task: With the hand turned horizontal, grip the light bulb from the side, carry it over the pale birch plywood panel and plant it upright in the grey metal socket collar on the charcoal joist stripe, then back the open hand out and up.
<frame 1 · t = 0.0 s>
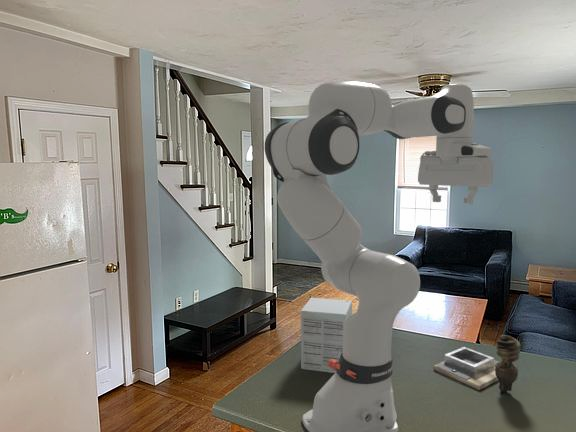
hand: (451, 203, 114), 48 cm above the table, tool pointing down, fingers open, 8 cm apart
supplement box: (327, 362, 129), on the table
light bulb: (505, 393, 111), on the table
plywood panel: (473, 370, 123), on the table
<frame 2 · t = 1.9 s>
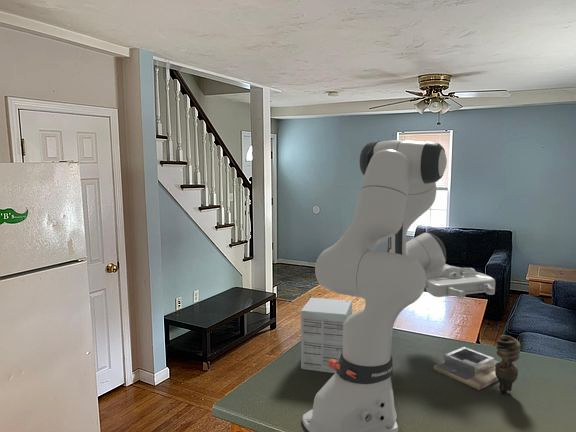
hand: (478, 293, 120), 23 cm above the table, tool horizontal, fingers open, 8 cm apart
nothing on the table moved.
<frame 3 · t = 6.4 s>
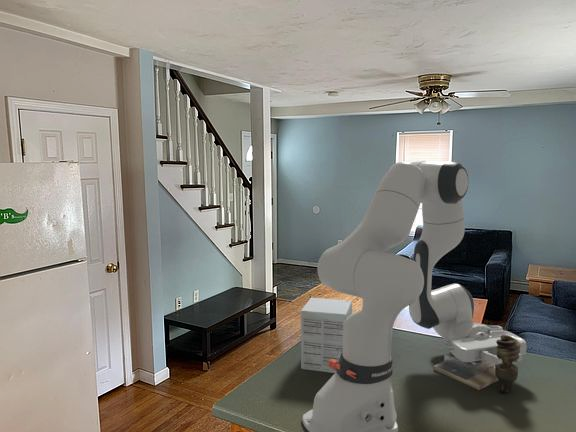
hand: (510, 360, 109), 9 cm above the table, tool horizontal, fingers closed on light bulb, 4 cm apart
light bulb: (505, 393, 111), on the table, touching gripper
everything else where it was.
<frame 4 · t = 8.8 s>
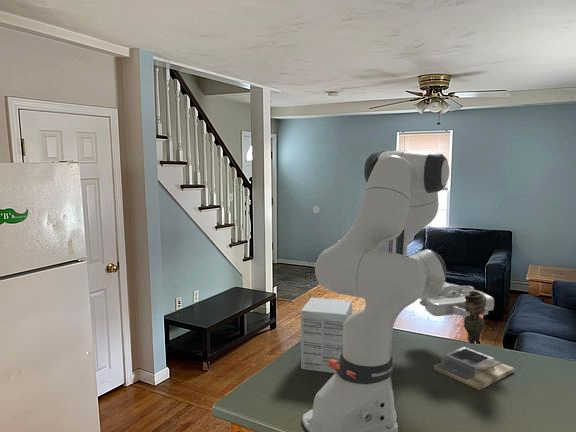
hand: (476, 313, 120), 17 cm above the table, tool horizontal, fingers closed on light bulb, 4 cm apart
light bulb: (473, 343, 122), point 8 cm above the table, touching gripper
everything else where it was.
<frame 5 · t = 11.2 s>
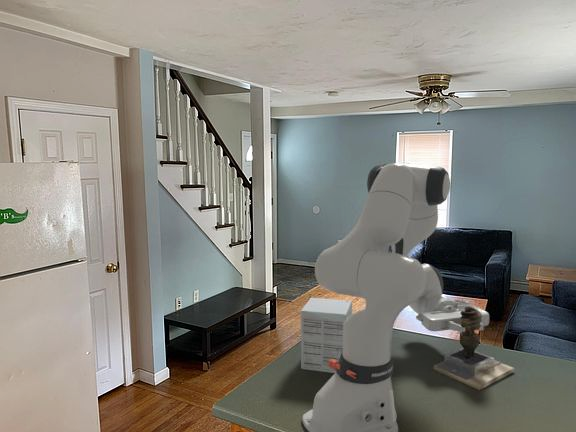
hand: (472, 328, 122), 12 cm above the table, tool horizontal, fingers closed on light bulb, 4 cm apart
light bulb: (468, 358, 124), point 3 cm above the table, touching gripper
everything else where it was.
when the fingers open (12 cm above the table, at t = 11.2 s): light bulb drops 2 cm, resting on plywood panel.
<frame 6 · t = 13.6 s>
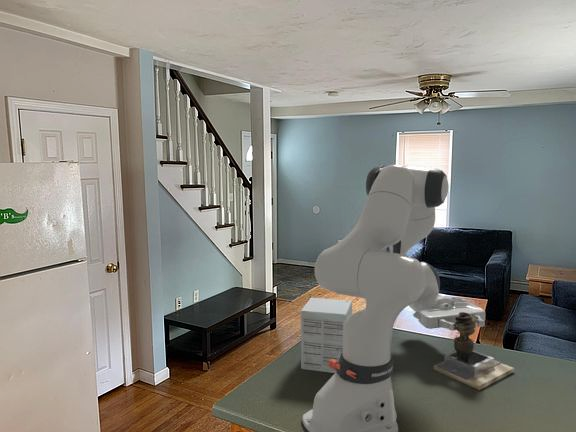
hand: (468, 325, 124), 12 cm above the table, tool horizontal, fingers open, 8 cm apart
light bulb: (463, 364, 124), point 1 cm above the table, touching gripper, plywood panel
everything else where it was.
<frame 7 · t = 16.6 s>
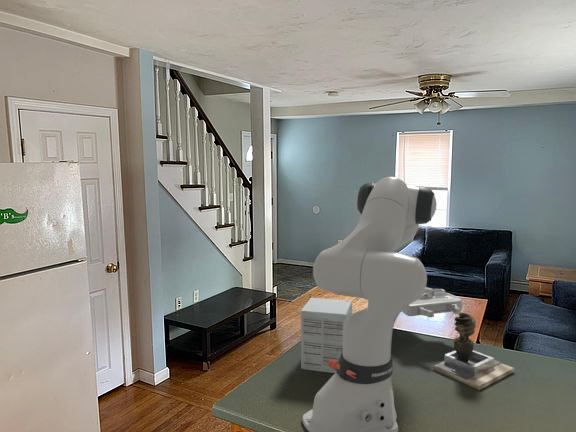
hand: (445, 313, 134), 12 cm above the table, tool horizontal, fingers open, 8 cm apart
light bulb: (463, 364, 124), point 1 cm above the table, touching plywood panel
everything else where it was.
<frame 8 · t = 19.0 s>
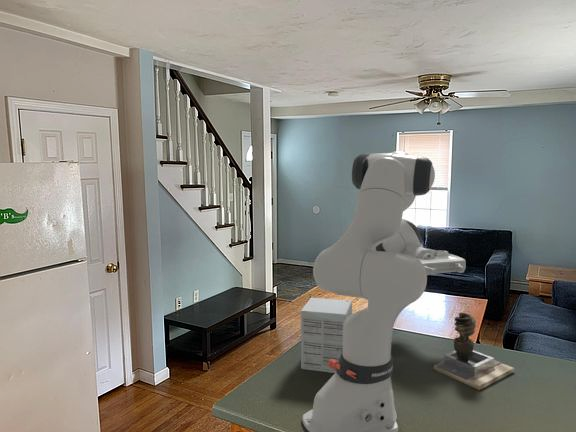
hand: (448, 271, 132), 26 cm above the table, tool horizontal, fingers open, 8 cm apart
nothing on the table moved.
at the end: light bulb 1.6 cm from the target spot, point 1.2 cm above the table; light bulb tilted 0°; the gripper is holding nothing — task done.
